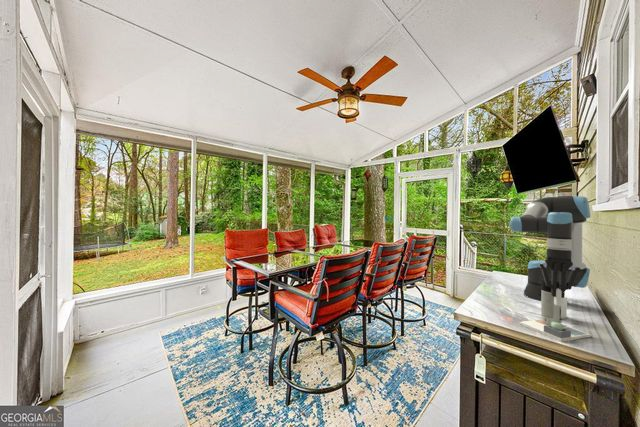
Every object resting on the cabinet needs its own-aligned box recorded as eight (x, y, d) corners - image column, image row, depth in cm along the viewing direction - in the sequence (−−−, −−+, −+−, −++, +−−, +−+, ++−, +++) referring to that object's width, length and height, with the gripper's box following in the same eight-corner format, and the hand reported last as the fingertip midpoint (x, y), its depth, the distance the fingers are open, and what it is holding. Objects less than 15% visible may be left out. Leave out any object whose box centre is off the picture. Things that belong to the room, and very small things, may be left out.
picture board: (546, 320, 118) (547, 313, 118) (591, 336, 103) (591, 328, 103) (519, 324, 113) (519, 316, 113) (561, 341, 98) (561, 332, 98)
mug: (540, 316, 123) (540, 295, 123) (545, 310, 131) (545, 290, 131) (564, 322, 117) (564, 300, 117) (567, 316, 124) (568, 295, 124)
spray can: (564, 327, 108) (564, 282, 108) (544, 324, 111) (545, 281, 111) (556, 321, 114) (556, 279, 114) (537, 319, 117) (538, 277, 117)
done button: (554, 328, 104) (555, 321, 104) (565, 332, 101) (565, 325, 101) (549, 329, 103) (549, 322, 103) (559, 333, 100) (559, 325, 100)
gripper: (541, 248, 102) (539, 304, 102) (584, 251, 96) (583, 311, 96) (536, 246, 109) (534, 299, 109) (576, 249, 102) (575, 305, 102)
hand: (557, 304), depth 102 cm, fingers closed
